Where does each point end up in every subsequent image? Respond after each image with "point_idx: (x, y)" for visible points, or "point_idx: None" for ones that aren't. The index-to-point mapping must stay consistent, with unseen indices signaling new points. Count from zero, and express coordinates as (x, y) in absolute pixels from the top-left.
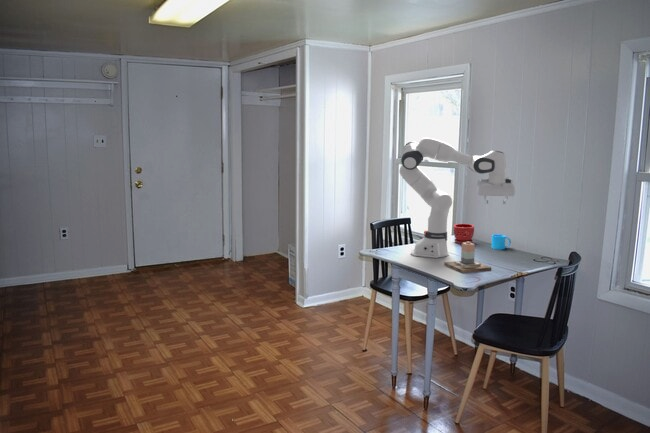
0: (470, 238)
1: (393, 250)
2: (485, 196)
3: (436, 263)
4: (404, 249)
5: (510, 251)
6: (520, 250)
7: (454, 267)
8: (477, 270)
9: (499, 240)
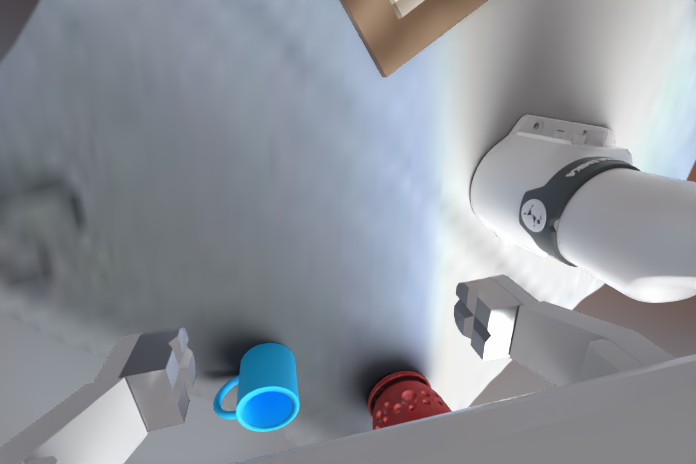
0: (380, 399)
1: None
2: (634, 358)
3: (541, 4)
4: None
5: (212, 329)
6: None
7: None
8: None
9: (262, 374)
